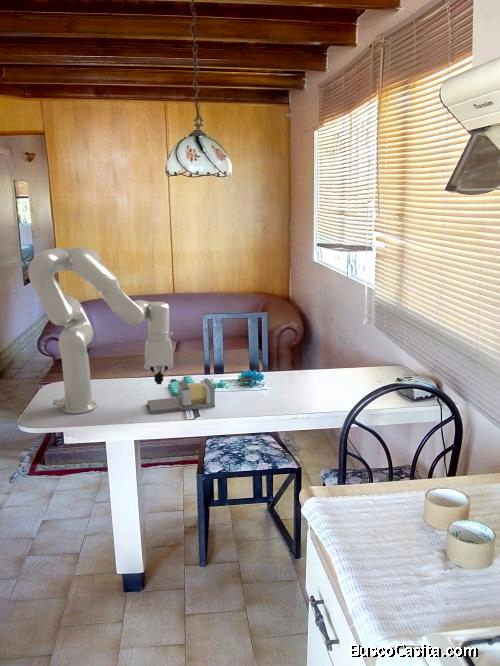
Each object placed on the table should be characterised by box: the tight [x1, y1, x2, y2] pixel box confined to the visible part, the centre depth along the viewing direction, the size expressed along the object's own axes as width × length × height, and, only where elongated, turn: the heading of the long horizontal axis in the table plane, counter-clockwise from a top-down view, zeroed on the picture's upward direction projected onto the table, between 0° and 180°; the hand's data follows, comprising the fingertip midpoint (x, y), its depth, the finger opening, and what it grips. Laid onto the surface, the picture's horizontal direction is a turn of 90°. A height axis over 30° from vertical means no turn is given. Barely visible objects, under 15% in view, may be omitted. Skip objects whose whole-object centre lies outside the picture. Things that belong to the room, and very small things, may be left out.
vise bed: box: [146, 377, 216, 415], centre depth 212 cm, size 24×11×8 cm, turn 108°
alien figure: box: [167, 375, 227, 397], centre depth 231 cm, size 20×2×20 cm
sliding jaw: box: [177, 380, 191, 406], centre depth 212 cm, size 3×10×7 cm, turn 17°
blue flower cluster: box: [237, 369, 265, 388], centre depth 235 cm, size 11×6×10 cm
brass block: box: [187, 382, 205, 403], centre depth 214 cm, size 6×4×6 cm, turn 108°
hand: (158, 383), depth 209 cm, fingers closed
